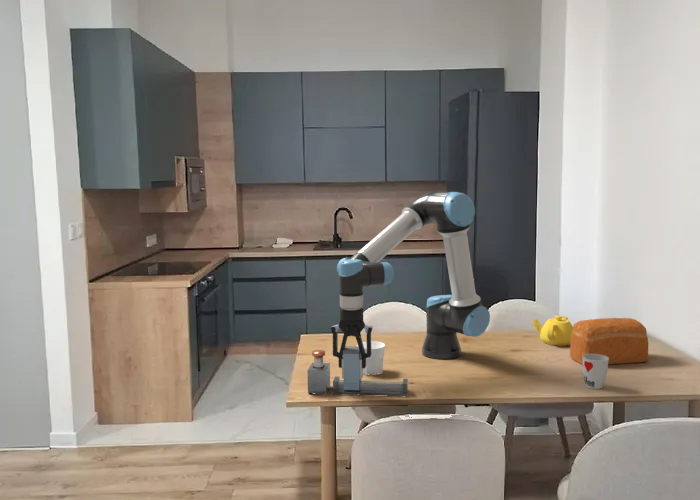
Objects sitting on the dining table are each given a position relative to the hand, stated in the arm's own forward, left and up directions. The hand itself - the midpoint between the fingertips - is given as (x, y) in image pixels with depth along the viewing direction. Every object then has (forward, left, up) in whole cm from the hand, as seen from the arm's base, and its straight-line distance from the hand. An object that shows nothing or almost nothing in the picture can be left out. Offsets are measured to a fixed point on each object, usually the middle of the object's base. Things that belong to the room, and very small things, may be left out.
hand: (352, 377), depth 211 cm
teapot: (-75, -69, -5) cm, 102 cm away
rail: (-6, 0, -5) cm, 8 cm away
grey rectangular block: (0, 0, -3) cm, 3 cm away
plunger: (+11, 0, -1) cm, 11 cm away
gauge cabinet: (+11, 0, -5) cm, 12 cm away
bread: (-91, -44, -5) cm, 101 cm away
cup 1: (-4, -21, -5) cm, 22 cm away
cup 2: (-79, -13, -5) cm, 80 cm away
